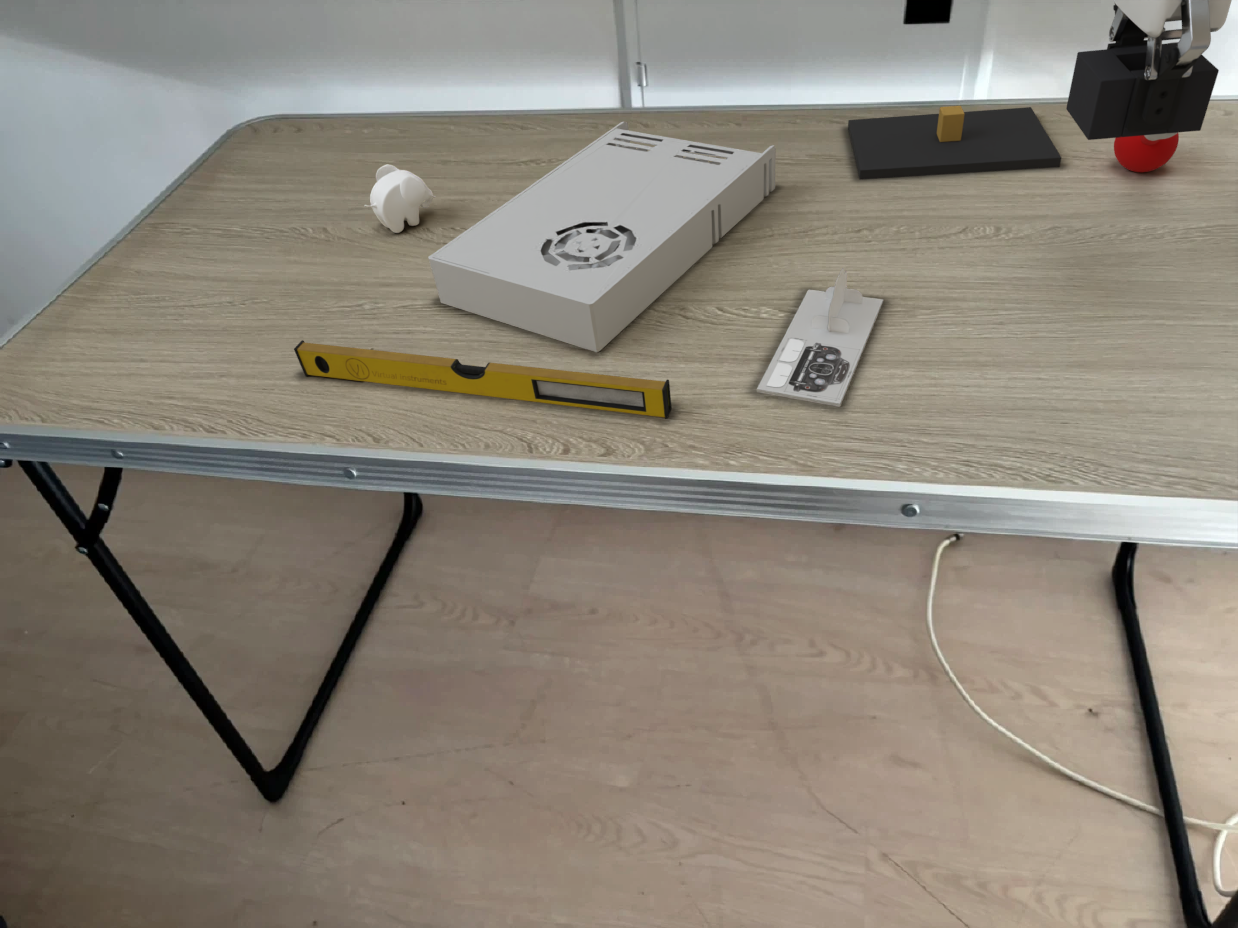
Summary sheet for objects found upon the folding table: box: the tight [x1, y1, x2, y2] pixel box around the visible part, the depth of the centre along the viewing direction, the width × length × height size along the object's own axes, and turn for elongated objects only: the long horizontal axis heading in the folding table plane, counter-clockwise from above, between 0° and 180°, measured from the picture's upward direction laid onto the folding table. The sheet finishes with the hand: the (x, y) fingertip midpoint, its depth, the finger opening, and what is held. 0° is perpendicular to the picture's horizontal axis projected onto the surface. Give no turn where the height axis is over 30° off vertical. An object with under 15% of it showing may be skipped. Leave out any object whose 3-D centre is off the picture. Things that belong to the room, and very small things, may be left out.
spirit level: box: [293, 340, 673, 420], centre depth 76 cm, size 33×1×3 cm, turn 72°
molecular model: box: [1113, 41, 1180, 173], centre depth 90 cm, size 18×6×10 cm, turn 154°
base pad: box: [847, 105, 1062, 181], centre depth 100 cm, size 20×13×4 cm, turn 85°
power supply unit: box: [427, 121, 777, 353], centre depth 92 cm, size 19×33×5 cm, turn 146°
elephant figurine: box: [364, 163, 437, 234], centre depth 100 cm, size 7×8×6 cm
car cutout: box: [756, 267, 884, 408], centre depth 75 cm, size 15×7×4 cm, turn 156°
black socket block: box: [1065, 42, 1220, 141], centre depth 70 cm, size 8×6×4 cm
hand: (1133, 109), depth 71 cm, fingers closed on black socket block, 6 cm apart
